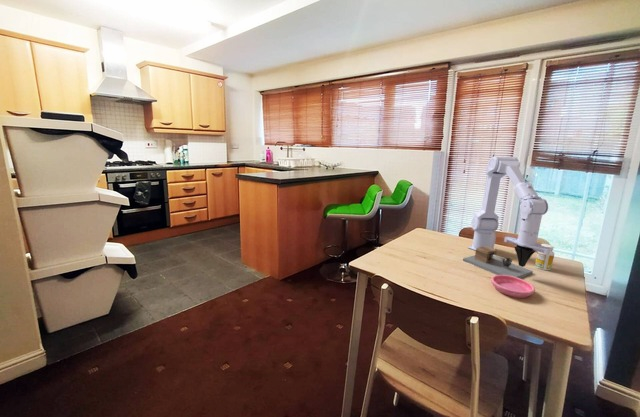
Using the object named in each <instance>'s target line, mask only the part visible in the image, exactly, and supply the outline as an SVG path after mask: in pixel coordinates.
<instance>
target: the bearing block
mask: <svg viewBox="0 0 640 417" xmlns="http://www.w3.org/2000/svg"><path fill="white" fill-rule="evenodd" d="M490 253H492V254H494V255H497V249H496V250H495V248H494V249H493V248H490V247H487V246H483V247H479V248H476V250H475V252H474V255H475V259H476V260H479V261H481V262H484V263H489V262H493V261H495V260H492V259H490V258H489V255H490Z"/></svg>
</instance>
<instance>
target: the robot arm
mask: <svg viewBox="0 0 640 417" xmlns="http://www.w3.org/2000/svg"><path fill="white" fill-rule="evenodd" d="M520 168H521V162H520V161H519V158H518V157H515V156H513V157H512V156H511V157H510V156H492V157H491V158H489V160H488V161H487V166H486V172H485V174H486V175H487V176H486V181H485V182H486V183H485V188H484V192H483V193H484V194H483V198H482V203H481V204H482V205H481V209H480V210H478V211H477V212H475V213H474V214H473V218H472V220H471V229H472V230H473V231H474V232H473V233H474V234H473V240H472V244H471V245H470V246H467V248H468V249H470V250H474V251H476V248H479V247H483V246H487V247H490V248H493V249H495V243H496V233H495V232H496V231H497V230H498V229H499V226H500V224H499V219H500V218H499V216H498V214H497V213H496V212H495V210H496V205H497V200H498V195H499V190H500V184H501V179H502V178H504V177H505V176H507V177H508V178H509V180H510V181H511V182H512V184H513V186H515V187H514V189H513V191H514V193H515V195H516V197H517V199H518V201H519V202H520V204H519V211H520V218H521V220H520V225H519V230H518V236H517V238H516V237H511V236H504V240H503V242H504V243H508V244H513V245H515V247H514V250H515V253H516V255H517V262H518V263H517V264H518V266H520V267H523V268H525V266H526V265H527V263H528V261H529V259H530V258H531V257H532V256H533V254H535V252H542V253H544V254H546V255H547V254H549V253H550V248H547V247H544V246H542V245H541V244H539V243H537V240H538V237H539V236H538V235H539V232H540V228H541V223H542V217H543V216H544V215H545V214H547V212H548V211H549V203H548V201H547V199H545V198H542V196H539V194H538V193H537V191H536V190H535V189H534V187H533V184H531V183H530V182H526V180H525V178H524V176H523V173H522V171H521V170H520ZM495 250H497V249H495Z"/></svg>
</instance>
